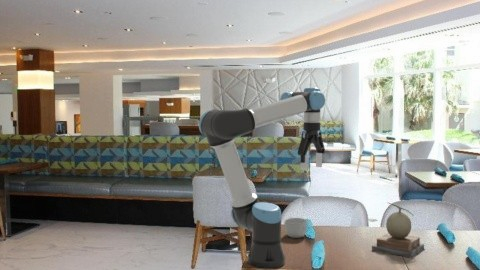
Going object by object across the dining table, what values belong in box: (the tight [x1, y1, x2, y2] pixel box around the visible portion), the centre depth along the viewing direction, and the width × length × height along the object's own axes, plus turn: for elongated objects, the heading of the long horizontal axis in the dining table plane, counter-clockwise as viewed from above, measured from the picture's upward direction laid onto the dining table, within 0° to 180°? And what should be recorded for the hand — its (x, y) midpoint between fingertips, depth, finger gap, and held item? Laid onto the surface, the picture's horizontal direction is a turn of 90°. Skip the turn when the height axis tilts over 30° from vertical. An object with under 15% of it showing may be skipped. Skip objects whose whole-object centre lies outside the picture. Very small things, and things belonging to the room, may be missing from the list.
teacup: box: [283, 217, 308, 239], centre depth 242 cm, size 14×11×8 cm
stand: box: [371, 232, 425, 258], centre depth 219 cm, size 17×17×5 cm
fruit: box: [385, 202, 414, 239], centre depth 219 cm, size 10×12×15 cm
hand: (311, 168), depth 227 cm, fingers open, 13 cm apart
